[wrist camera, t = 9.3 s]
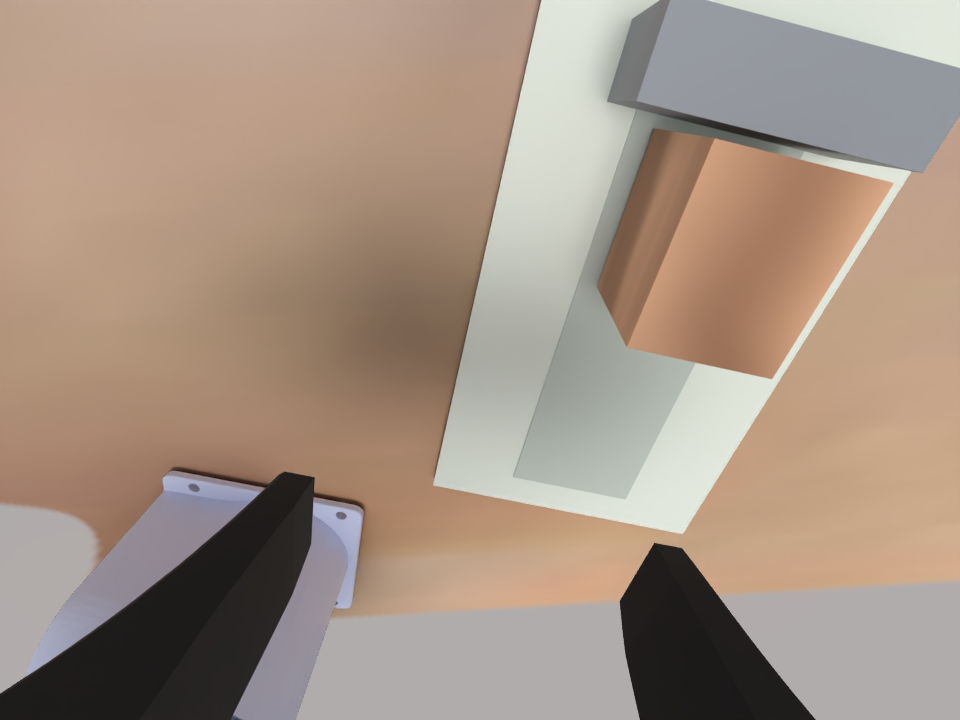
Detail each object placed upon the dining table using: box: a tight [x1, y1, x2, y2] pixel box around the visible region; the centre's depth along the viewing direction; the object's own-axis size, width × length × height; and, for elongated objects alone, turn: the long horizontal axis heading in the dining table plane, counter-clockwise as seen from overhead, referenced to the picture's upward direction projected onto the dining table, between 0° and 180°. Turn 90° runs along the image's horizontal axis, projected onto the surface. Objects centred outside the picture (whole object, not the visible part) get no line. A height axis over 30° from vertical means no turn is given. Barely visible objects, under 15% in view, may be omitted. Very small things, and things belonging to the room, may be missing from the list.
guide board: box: [433, 0, 960, 534], centre depth 15 cm, size 12×21×4 cm, turn 168°
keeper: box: [597, 128, 894, 379], centre depth 13 cm, size 4×5×4 cm
